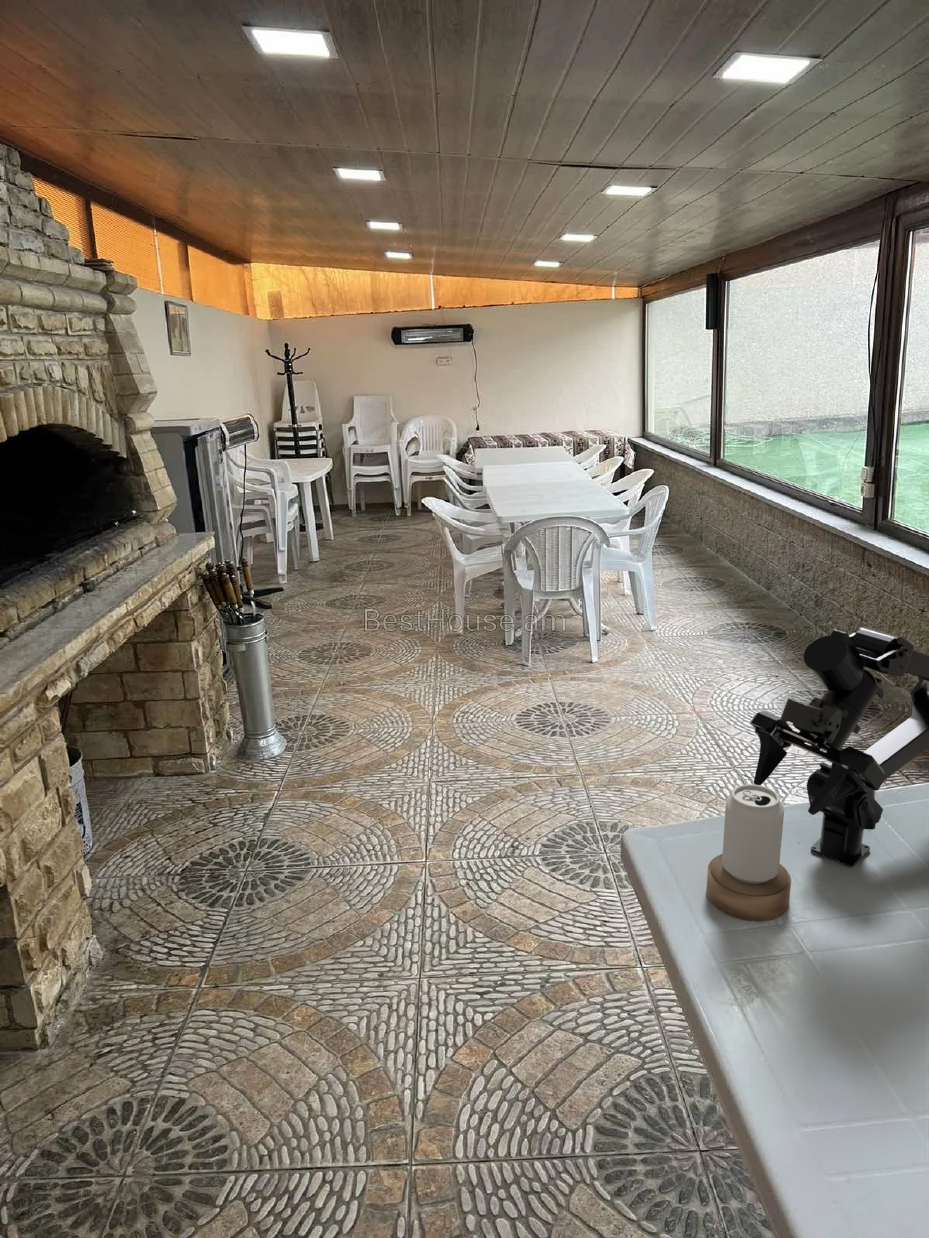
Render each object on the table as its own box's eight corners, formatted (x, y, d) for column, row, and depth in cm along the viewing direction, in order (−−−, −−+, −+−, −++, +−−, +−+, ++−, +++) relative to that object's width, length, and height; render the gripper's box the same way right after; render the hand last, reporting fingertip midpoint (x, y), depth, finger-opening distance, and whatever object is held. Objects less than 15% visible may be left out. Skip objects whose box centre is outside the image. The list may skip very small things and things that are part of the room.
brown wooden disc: (731, 863, 128) (733, 840, 126) (803, 894, 120) (805, 870, 119) (691, 896, 121) (692, 872, 119) (764, 932, 113) (766, 906, 112)
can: (765, 894, 114) (772, 814, 110) (712, 873, 119) (717, 797, 115) (786, 867, 120) (793, 791, 116) (735, 849, 124) (740, 775, 121)
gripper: (763, 658, 124) (704, 747, 122) (881, 700, 108) (815, 802, 107) (795, 696, 130) (739, 781, 128) (911, 741, 115) (850, 838, 113)
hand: (782, 798), depth 119 cm, fingers open, 9 cm apart
